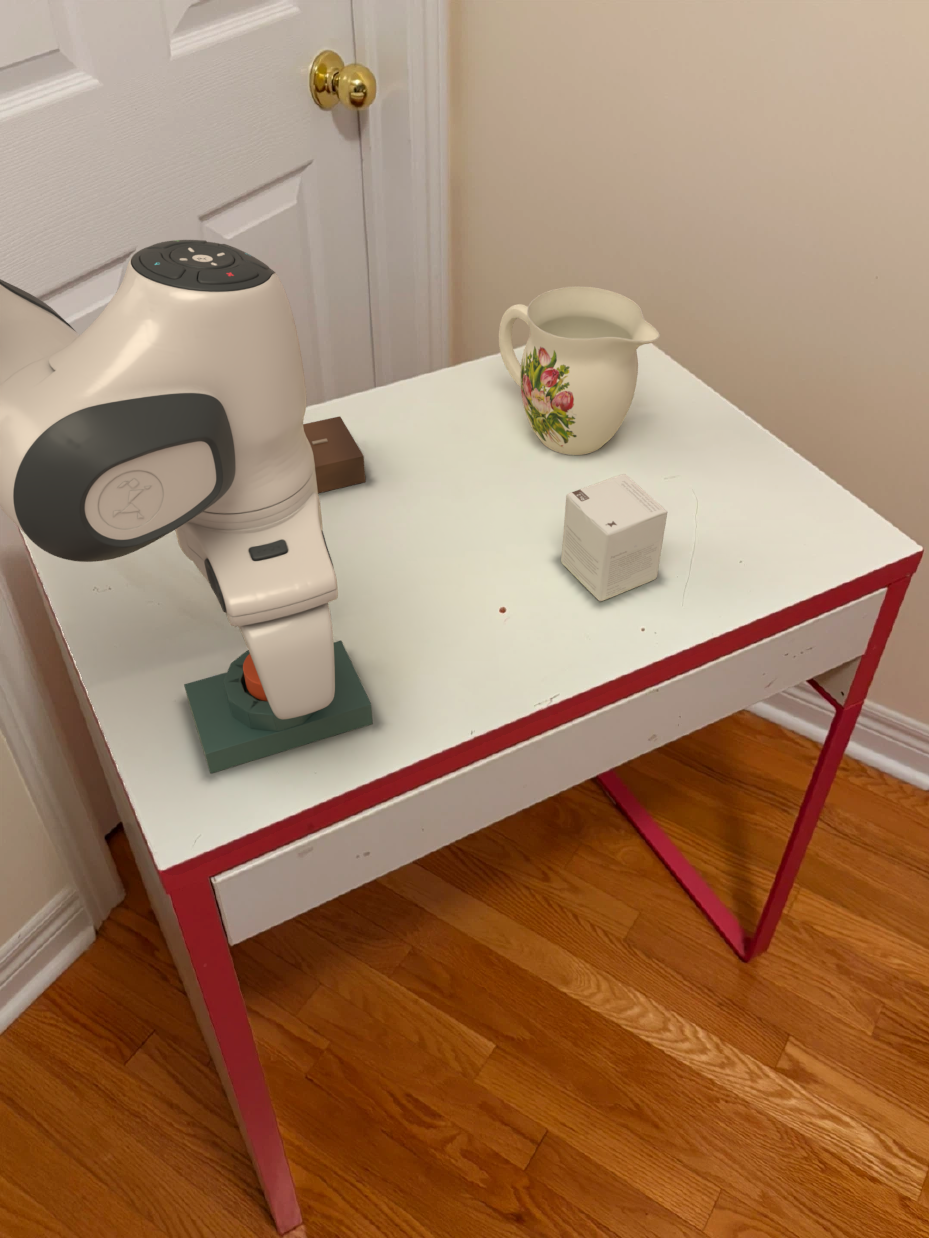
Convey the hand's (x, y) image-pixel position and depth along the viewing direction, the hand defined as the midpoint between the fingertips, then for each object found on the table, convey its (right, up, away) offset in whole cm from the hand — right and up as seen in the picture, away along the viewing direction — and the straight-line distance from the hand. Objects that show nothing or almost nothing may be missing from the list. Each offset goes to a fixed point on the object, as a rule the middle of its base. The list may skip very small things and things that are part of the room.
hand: (273, 663), depth 73 cm
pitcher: (+23, +22, +31) cm, 44 cm away
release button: (0, -1, +1) cm, 2 cm away
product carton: (+26, +7, +16) cm, 31 cm away
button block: (0, -4, +4) cm, 6 cm away
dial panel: (-4, +16, +25) cm, 30 cm away
